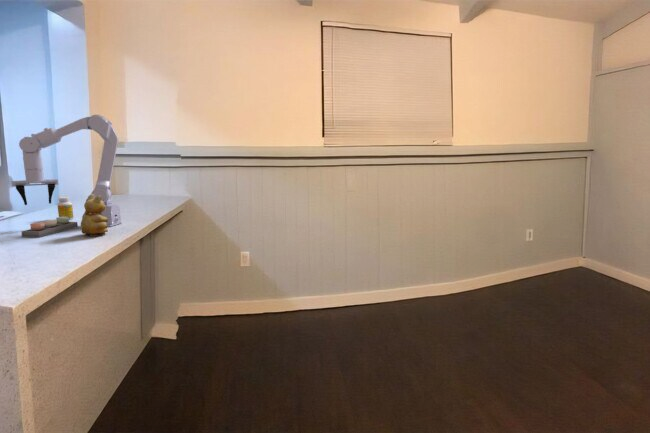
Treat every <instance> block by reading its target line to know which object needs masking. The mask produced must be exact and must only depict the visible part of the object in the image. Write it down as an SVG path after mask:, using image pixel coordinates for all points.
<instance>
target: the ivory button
mask: <svg viewBox="0 0 650 433" xmlns="http://www.w3.org/2000/svg"><path fill="white" fill-rule="evenodd" d="M43 223H44V226H45V227H51V226H57V219H56V218H54V219H52V218H51V219H46V220H45V219H44V220H43Z"/></svg>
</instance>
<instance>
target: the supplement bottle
mask: <svg viewBox="0 0 650 433" xmlns="http://www.w3.org/2000/svg"><path fill="white" fill-rule="evenodd" d="M70 199H71V198H70V197H69V196H61V197H58V203H57V205H56V206H57V212H58V213H57V214H58V217H68V218H69V221H70V220H73V219H74V211H73V208H74V207H73V203H72V202H71V200H70Z"/></svg>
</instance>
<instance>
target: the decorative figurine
mask: <svg viewBox="0 0 650 433" xmlns="http://www.w3.org/2000/svg"><path fill="white" fill-rule="evenodd" d="M101 198H102V197H101V195H99V196H97V197H96V198H95V196H94V194H91V193H90V194H89V195H88V196H87V198H86V200H85V203H84V206H83V207H84V213H83V215H81V216H82V217H81V221H80V230H81V234H84V235H85V236H87V237H88V236H89V237H98V236H99V237H100V236H104V235H106V233H107V232H108V231H109V230H108V226H107V221H108V219H107V217H104V216H103V215H102V213H101V212H103V211H104V210H105V205H104V202H103V201H101Z"/></svg>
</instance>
